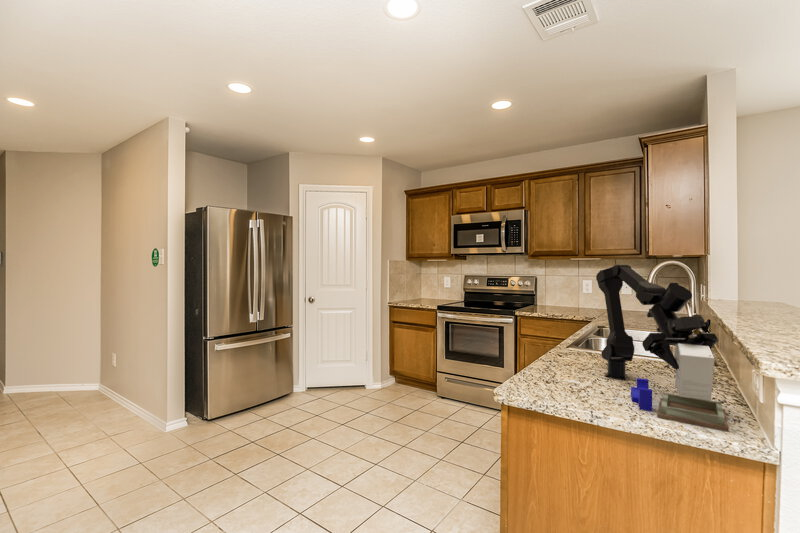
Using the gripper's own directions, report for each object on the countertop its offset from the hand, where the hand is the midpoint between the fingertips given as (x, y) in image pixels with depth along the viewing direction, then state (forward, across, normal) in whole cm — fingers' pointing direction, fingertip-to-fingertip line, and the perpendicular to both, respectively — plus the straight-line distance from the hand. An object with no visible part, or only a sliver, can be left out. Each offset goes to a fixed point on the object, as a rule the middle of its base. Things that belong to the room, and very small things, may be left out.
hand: (694, 368), depth 108 cm
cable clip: (+2, -8, +17) cm, 19 cm away
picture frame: (+9, 0, +10) cm, 13 cm away
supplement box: (+4, 0, +6) cm, 7 cm away
